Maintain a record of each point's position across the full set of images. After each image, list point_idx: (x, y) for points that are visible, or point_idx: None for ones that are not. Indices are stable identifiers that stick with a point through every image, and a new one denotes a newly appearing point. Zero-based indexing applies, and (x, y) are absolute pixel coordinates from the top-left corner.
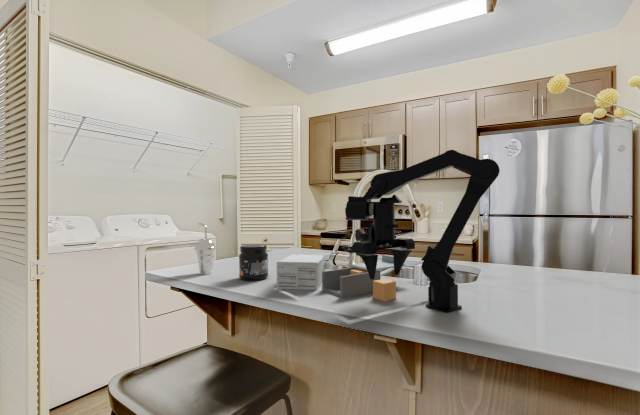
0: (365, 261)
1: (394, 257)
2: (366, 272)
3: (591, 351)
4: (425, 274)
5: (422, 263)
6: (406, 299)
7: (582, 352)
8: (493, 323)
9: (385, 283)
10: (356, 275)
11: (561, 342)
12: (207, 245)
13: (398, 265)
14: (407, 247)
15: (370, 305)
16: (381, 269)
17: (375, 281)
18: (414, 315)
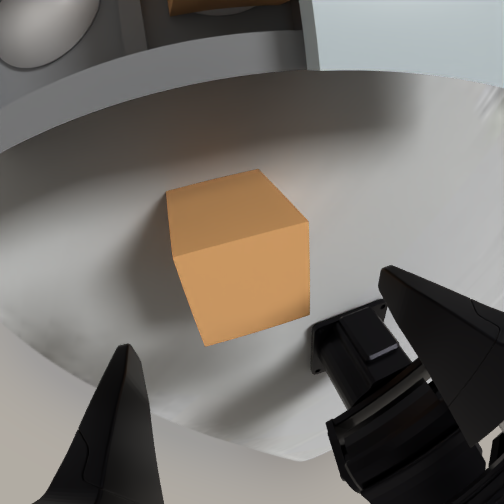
0: (72, 486)
1: (483, 345)
2: (241, 38)
3: (320, 447)
4: (345, 441)
5: (355, 480)
6: (330, 231)
7: (310, 450)
8: (326, 407)
9: (219, 339)
10: (49, 127)
11: (323, 439)
12: None
13: (422, 340)
14: (492, 457)
15: (114, 263)
16: (430, 74)
17: (182, 281)
18: (218, 376)
